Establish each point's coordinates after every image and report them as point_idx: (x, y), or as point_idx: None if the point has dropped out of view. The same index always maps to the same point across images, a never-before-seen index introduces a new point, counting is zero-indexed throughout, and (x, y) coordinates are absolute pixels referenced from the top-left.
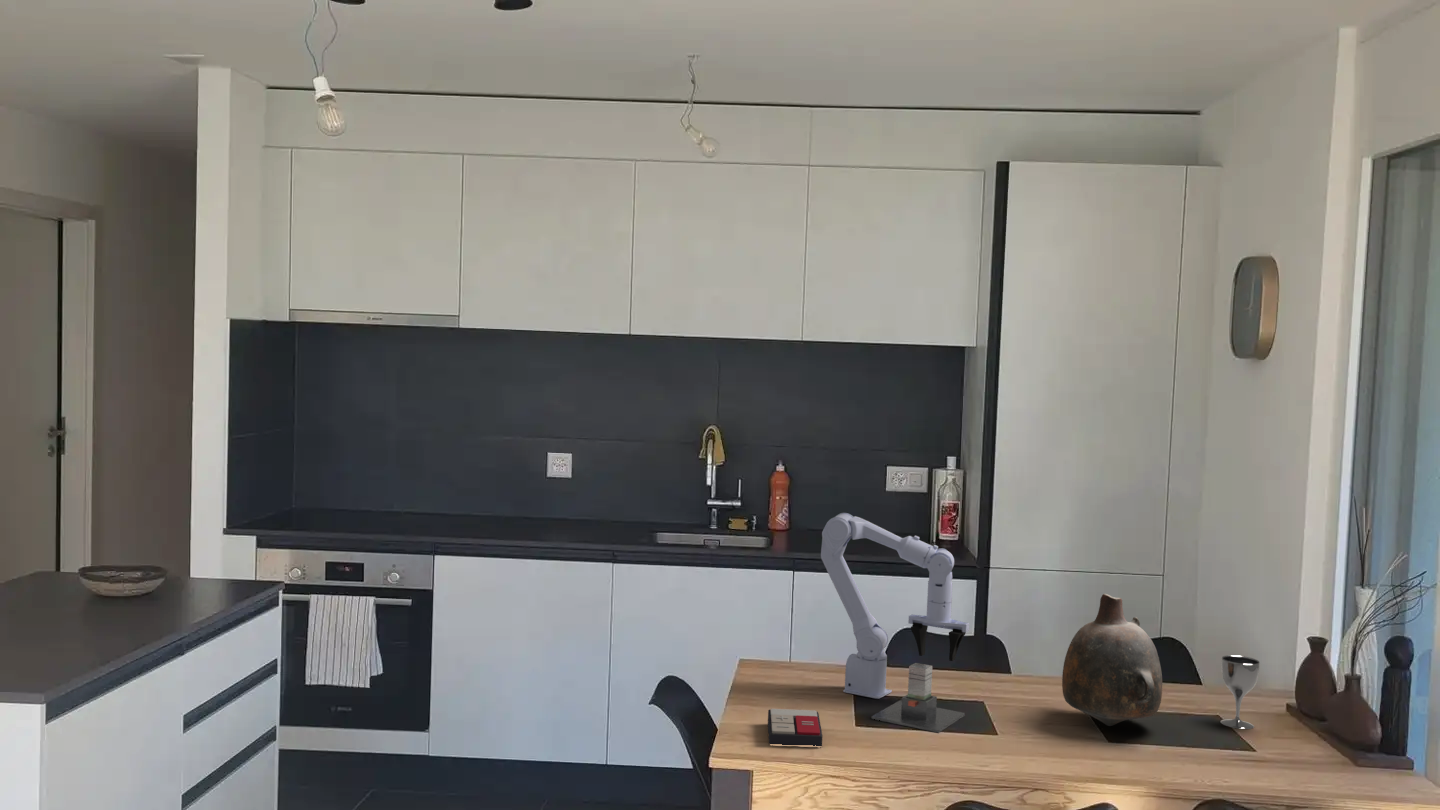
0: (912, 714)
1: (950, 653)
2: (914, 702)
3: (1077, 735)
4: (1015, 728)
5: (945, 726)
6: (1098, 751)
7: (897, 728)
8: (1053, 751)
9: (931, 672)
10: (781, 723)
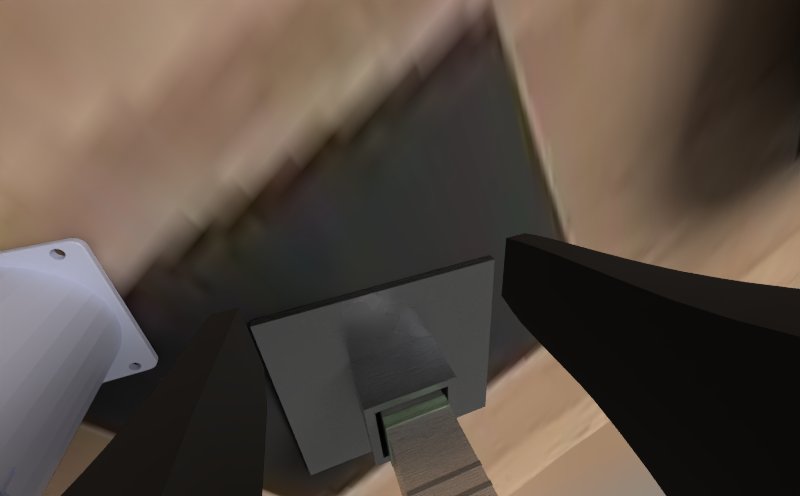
0: None
1: (551, 344)
2: None
3: (746, 167)
4: (621, 239)
5: (485, 375)
6: (756, 235)
7: None
8: None
9: (492, 490)
10: None
